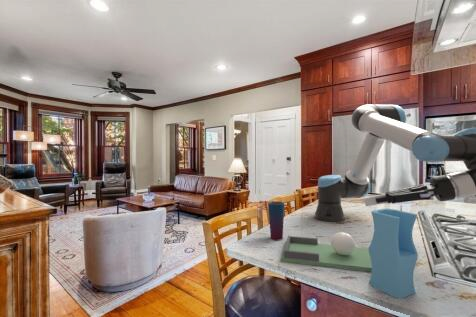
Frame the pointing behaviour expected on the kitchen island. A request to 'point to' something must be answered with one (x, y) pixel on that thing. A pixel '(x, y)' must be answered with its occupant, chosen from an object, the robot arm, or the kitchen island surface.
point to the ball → (343, 243)
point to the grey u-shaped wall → (301, 254)
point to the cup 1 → (276, 219)
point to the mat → (332, 257)
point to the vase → (393, 252)
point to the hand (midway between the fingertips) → (364, 201)
